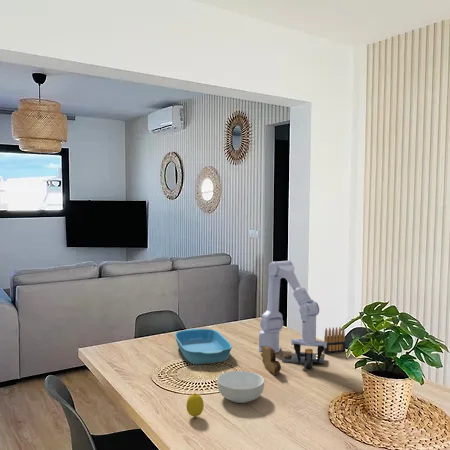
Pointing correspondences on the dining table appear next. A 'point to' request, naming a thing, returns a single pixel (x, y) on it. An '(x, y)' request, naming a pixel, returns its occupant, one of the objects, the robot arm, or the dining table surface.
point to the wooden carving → (270, 360)
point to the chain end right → (313, 357)
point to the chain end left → (290, 358)
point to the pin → (308, 359)
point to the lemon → (195, 405)
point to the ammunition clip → (334, 341)
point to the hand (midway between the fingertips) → (308, 362)
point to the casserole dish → (203, 345)
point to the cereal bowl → (240, 386)
